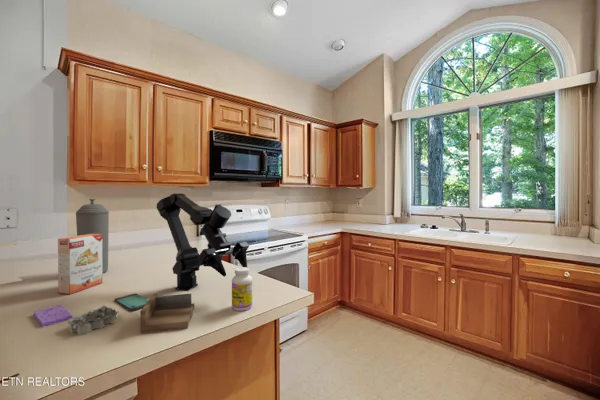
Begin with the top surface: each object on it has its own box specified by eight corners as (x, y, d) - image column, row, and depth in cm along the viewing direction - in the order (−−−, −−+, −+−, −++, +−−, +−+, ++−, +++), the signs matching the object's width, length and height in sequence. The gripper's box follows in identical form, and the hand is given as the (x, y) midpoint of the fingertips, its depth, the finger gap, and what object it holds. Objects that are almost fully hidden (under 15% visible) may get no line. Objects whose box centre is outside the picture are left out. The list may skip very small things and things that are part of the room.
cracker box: (70, 295, 104) (69, 239, 104) (57, 293, 106) (56, 238, 105) (104, 283, 118) (103, 233, 117) (92, 282, 119) (91, 233, 119)
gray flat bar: (157, 308, 87) (157, 296, 87) (191, 305, 89) (191, 293, 89) (156, 310, 86) (156, 297, 86) (191, 307, 88) (190, 294, 88)
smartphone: (135, 292, 104) (154, 302, 95) (135, 296, 104) (154, 305, 95) (113, 298, 99) (130, 309, 89) (113, 302, 99) (130, 313, 89)
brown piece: (154, 313, 89) (153, 294, 89) (194, 309, 92) (193, 291, 91) (140, 333, 76) (140, 311, 76) (187, 328, 79) (187, 307, 79)
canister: (115, 271, 135) (113, 198, 134) (83, 278, 124) (82, 199, 123) (102, 267, 141) (101, 198, 140) (72, 274, 131) (70, 198, 130)
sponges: (61, 309, 93) (61, 303, 93) (73, 320, 85) (73, 314, 85) (32, 317, 87) (32, 311, 87) (42, 329, 80) (42, 322, 79)
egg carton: (80, 337, 74) (80, 322, 74) (65, 331, 78) (64, 317, 77) (120, 320, 84) (120, 307, 84) (105, 316, 87) (105, 303, 87)
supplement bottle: (227, 309, 92) (227, 270, 91) (240, 302, 98) (240, 265, 97) (243, 313, 89) (243, 272, 88) (256, 305, 95) (256, 267, 94)
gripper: (225, 246, 112) (245, 279, 105) (182, 255, 97) (202, 294, 90) (238, 228, 107) (260, 261, 101) (195, 234, 92) (217, 273, 86)
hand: (236, 272), depth 94 cm, fingers open, 9 cm apart
